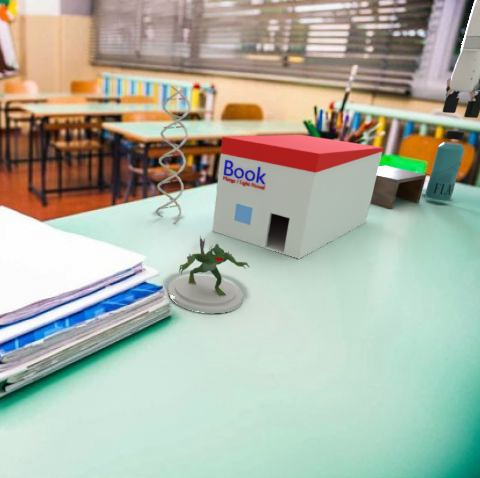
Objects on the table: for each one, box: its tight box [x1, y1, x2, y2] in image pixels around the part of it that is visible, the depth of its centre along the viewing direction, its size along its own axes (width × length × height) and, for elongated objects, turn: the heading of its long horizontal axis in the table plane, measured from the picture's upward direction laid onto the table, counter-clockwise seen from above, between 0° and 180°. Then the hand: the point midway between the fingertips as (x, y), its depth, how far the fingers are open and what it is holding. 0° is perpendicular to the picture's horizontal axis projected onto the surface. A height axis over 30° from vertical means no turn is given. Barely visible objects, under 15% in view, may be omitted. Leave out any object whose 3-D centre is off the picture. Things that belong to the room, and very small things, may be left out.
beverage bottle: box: [425, 129, 466, 201], centre depth 135 cm, size 6×7×20 cm
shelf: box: [370, 165, 427, 210], centre depth 137 cm, size 12×14×8 cm
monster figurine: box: [167, 235, 250, 314], centre depth 79 cm, size 12×12×10 cm
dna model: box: [155, 85, 192, 225], centre depth 109 cm, size 7×6×30 cm
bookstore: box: [211, 134, 385, 260], centre depth 110 cm, size 21×35×21 cm, turn 135°
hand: (459, 115), depth 130 cm, fingers open, 9 cm apart
